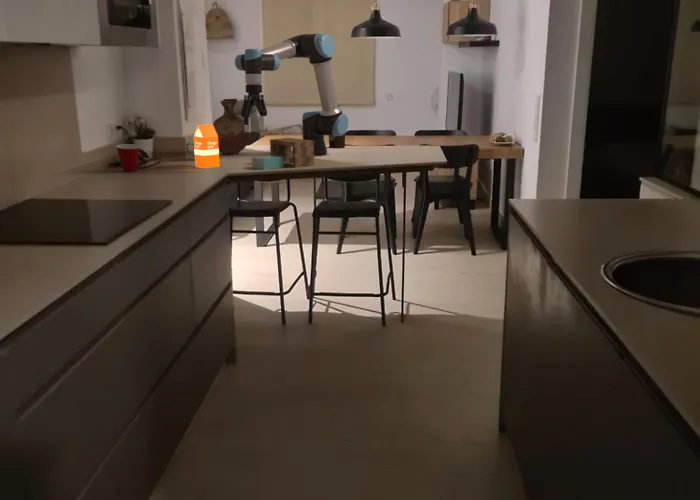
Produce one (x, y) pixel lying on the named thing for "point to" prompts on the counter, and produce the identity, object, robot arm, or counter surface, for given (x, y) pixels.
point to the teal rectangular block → (267, 162)
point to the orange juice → (206, 147)
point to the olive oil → (337, 141)
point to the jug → (230, 130)
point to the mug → (187, 148)
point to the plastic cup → (128, 156)
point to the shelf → (293, 151)
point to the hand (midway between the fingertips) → (254, 131)
